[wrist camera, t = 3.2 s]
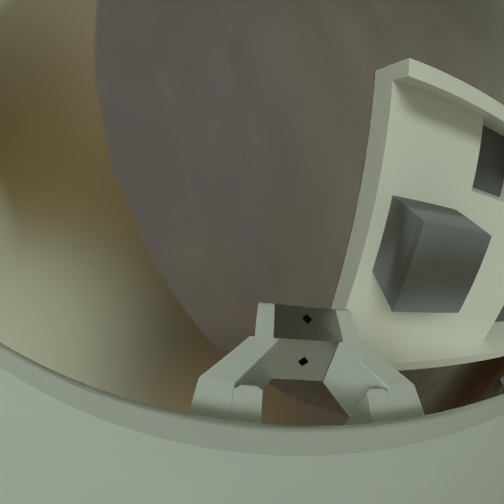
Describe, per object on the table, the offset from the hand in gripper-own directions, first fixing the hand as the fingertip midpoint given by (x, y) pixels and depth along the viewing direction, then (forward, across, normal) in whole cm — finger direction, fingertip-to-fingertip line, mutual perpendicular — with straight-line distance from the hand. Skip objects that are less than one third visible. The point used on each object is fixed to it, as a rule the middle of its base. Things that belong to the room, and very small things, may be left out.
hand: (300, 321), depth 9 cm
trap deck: (+10, -20, -1) cm, 22 cm away
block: (+8, -8, -1) cm, 11 cm away
